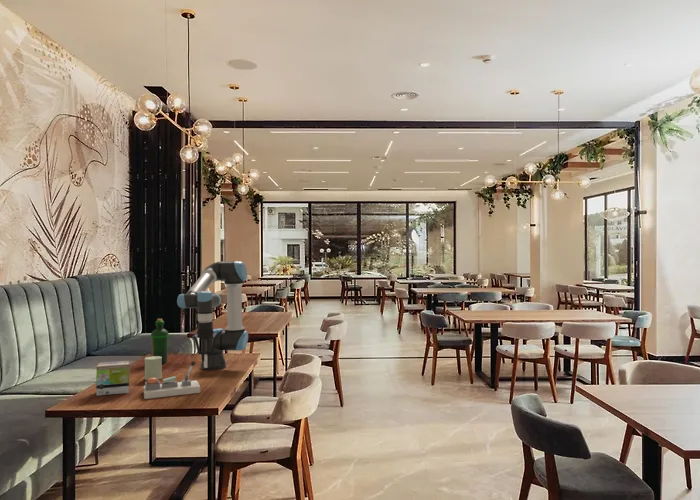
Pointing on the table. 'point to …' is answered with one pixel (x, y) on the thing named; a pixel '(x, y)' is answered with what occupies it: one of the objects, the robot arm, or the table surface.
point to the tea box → (112, 378)
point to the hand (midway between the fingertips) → (205, 367)
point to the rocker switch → (169, 379)
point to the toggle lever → (189, 370)
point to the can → (153, 367)
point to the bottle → (160, 341)
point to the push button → (152, 380)
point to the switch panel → (170, 388)
